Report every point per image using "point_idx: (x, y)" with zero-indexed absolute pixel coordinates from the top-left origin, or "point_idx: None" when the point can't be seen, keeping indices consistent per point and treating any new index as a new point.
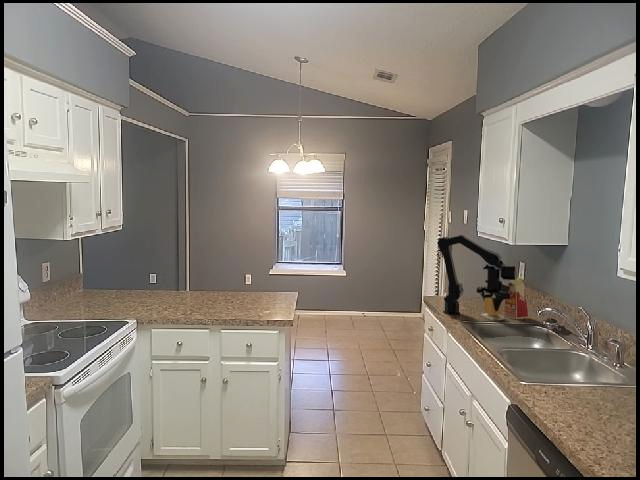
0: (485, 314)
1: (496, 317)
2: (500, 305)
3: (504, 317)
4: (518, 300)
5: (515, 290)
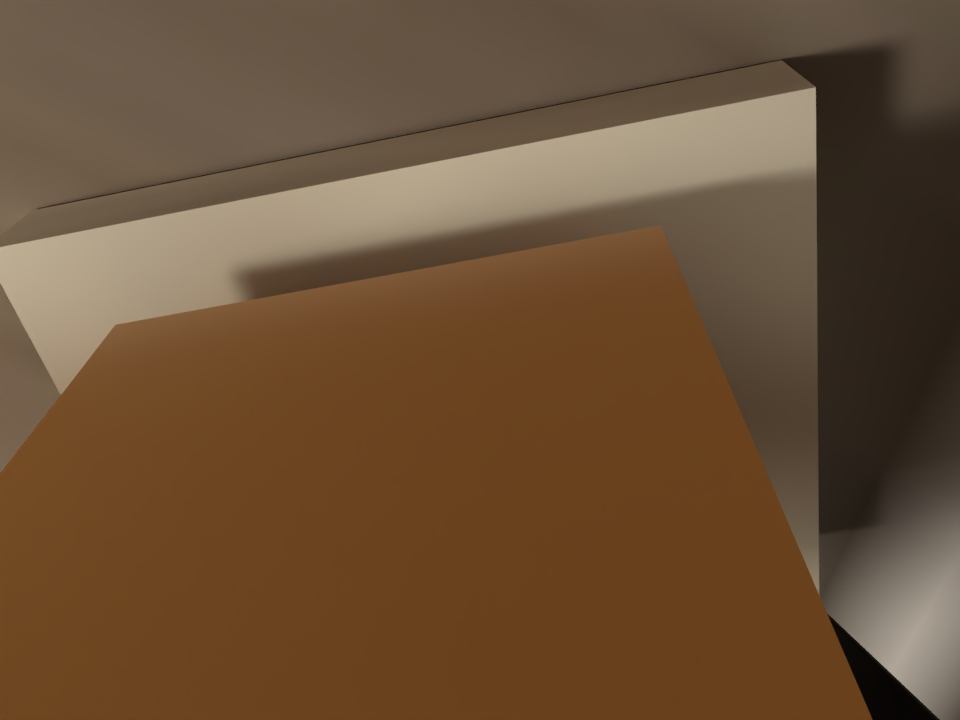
0: None
1: (765, 442)
2: (797, 621)
3: (806, 95)
4: None
5: None
